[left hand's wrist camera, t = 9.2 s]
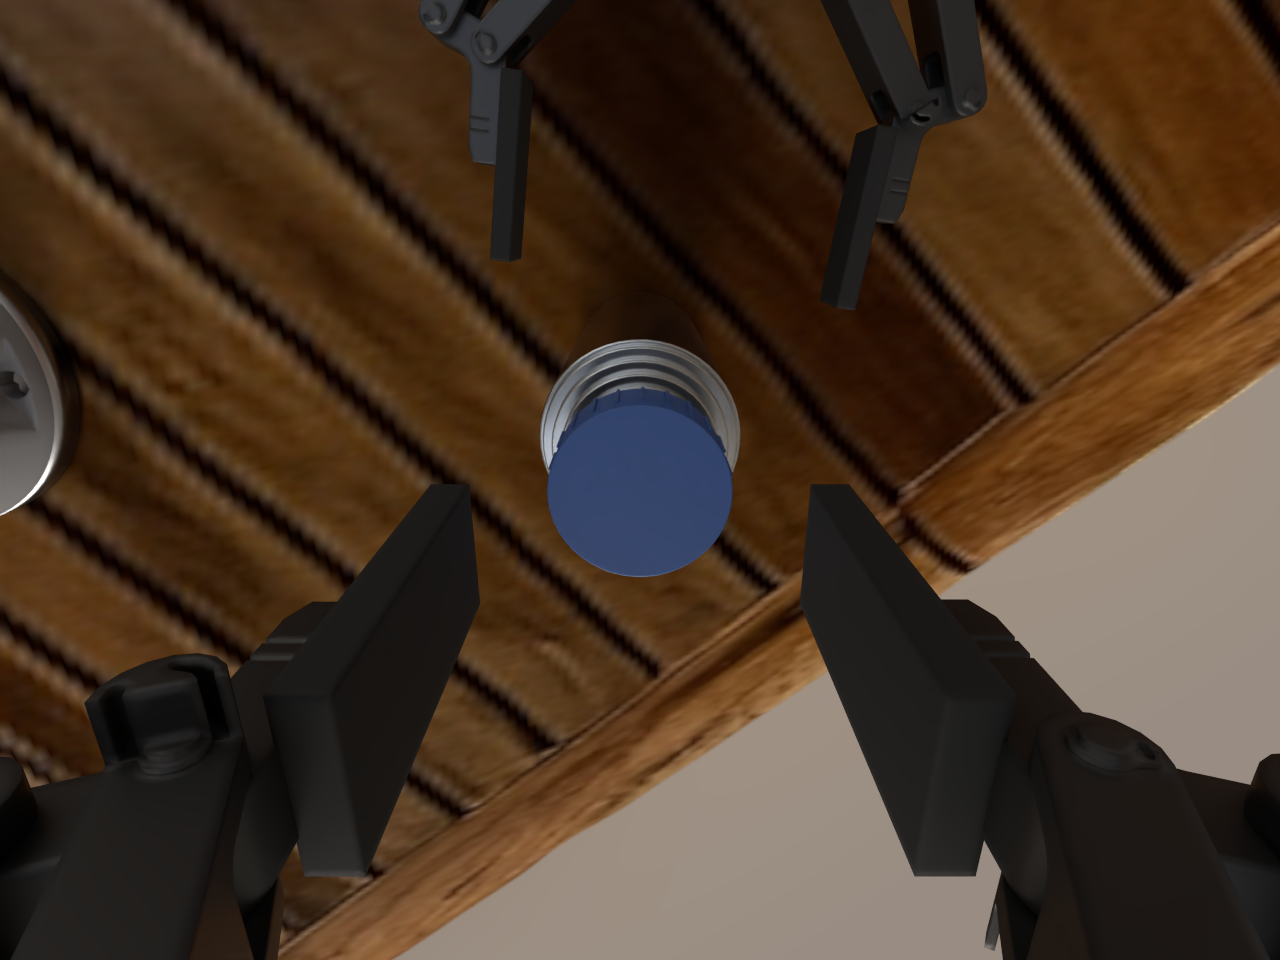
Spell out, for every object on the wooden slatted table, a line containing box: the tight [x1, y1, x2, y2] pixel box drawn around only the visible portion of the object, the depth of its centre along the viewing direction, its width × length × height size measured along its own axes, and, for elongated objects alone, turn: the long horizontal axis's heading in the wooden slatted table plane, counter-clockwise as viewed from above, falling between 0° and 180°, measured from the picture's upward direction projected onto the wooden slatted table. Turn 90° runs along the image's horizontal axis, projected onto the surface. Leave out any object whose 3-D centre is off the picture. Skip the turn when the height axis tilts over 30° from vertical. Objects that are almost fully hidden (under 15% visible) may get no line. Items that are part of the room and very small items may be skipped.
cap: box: [547, 387, 733, 577], centre depth 18 cm, size 5×5×2 cm
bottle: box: [539, 291, 741, 475], centre depth 26 cm, size 6×6×19 cm
